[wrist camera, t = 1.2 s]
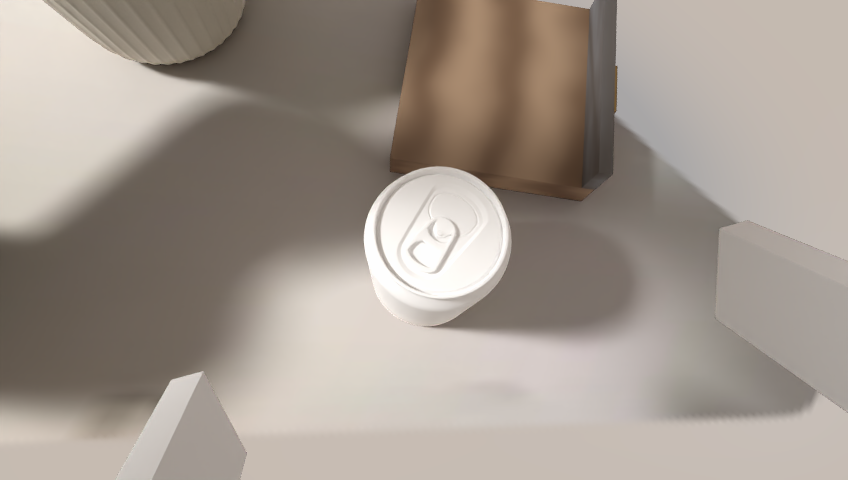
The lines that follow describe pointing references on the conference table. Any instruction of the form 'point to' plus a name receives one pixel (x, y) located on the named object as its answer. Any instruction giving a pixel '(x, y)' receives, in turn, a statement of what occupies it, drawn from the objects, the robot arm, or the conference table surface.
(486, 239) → the beverage can
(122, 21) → the canister
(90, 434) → the conference table surface
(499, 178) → the shelf board
